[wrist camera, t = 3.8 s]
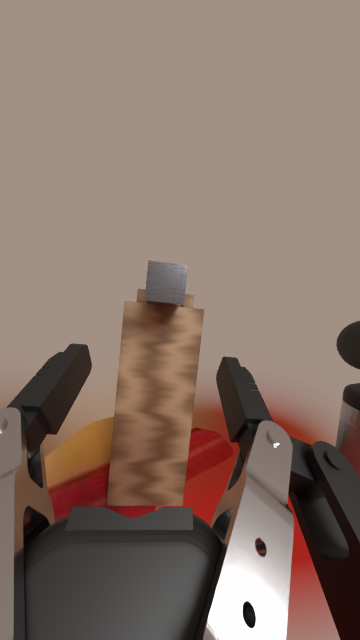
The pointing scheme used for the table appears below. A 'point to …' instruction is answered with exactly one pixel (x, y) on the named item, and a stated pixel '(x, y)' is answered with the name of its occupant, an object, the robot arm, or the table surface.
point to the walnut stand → (154, 403)
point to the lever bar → (165, 283)
